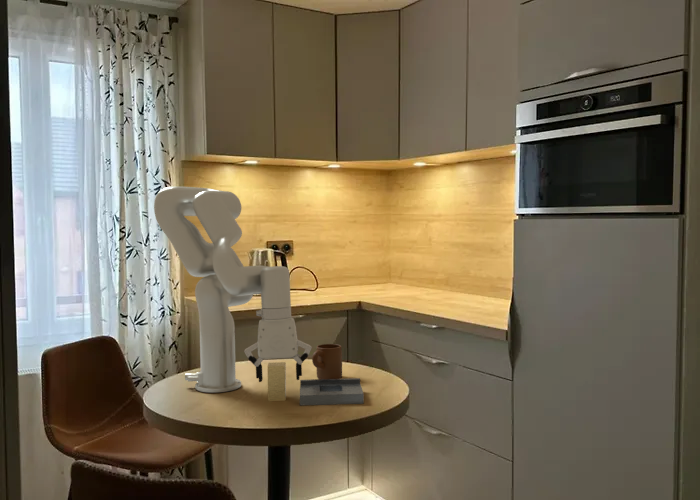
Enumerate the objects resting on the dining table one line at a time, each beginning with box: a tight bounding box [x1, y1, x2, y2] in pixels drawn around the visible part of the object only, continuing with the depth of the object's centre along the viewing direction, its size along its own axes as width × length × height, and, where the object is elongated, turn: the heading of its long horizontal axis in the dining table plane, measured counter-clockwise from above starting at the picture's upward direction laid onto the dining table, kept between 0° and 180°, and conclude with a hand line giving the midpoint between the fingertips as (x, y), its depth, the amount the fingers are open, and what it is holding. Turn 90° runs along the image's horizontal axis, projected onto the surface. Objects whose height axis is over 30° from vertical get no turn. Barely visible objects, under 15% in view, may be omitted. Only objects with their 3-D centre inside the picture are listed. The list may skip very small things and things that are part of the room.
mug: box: [311, 343, 343, 379], centre depth 182 cm, size 12×8×9 cm, turn 149°
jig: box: [299, 377, 365, 406], centre depth 162 cm, size 16×12×4 cm
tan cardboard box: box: [267, 361, 287, 402], centre depth 163 cm, size 4×4×9 cm
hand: (279, 379), depth 162 cm, fingers open, 9 cm apart
